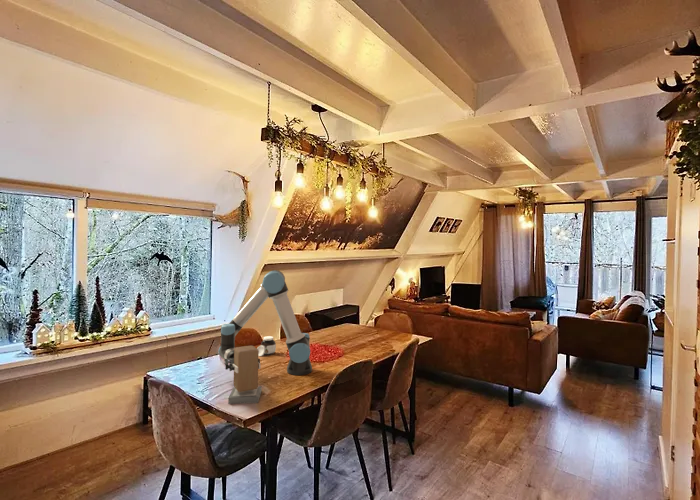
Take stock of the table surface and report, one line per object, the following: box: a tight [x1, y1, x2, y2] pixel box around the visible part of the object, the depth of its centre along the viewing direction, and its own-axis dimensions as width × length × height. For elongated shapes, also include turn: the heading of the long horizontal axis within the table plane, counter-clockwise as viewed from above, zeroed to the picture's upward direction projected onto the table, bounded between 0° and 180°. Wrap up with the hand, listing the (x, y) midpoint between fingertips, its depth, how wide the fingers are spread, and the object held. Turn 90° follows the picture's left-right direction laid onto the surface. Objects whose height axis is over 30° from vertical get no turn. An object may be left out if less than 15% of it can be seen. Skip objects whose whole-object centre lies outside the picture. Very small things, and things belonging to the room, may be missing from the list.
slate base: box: [227, 385, 263, 405], centre depth 191 cm, size 14×14×3 cm
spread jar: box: [257, 335, 277, 357], centre depth 264 cm, size 12×11×12 cm
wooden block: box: [233, 345, 259, 392], centre depth 190 cm, size 10×10×20 cm
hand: (248, 368), depth 187 cm, fingers closed on wooden block, 11 cm apart
